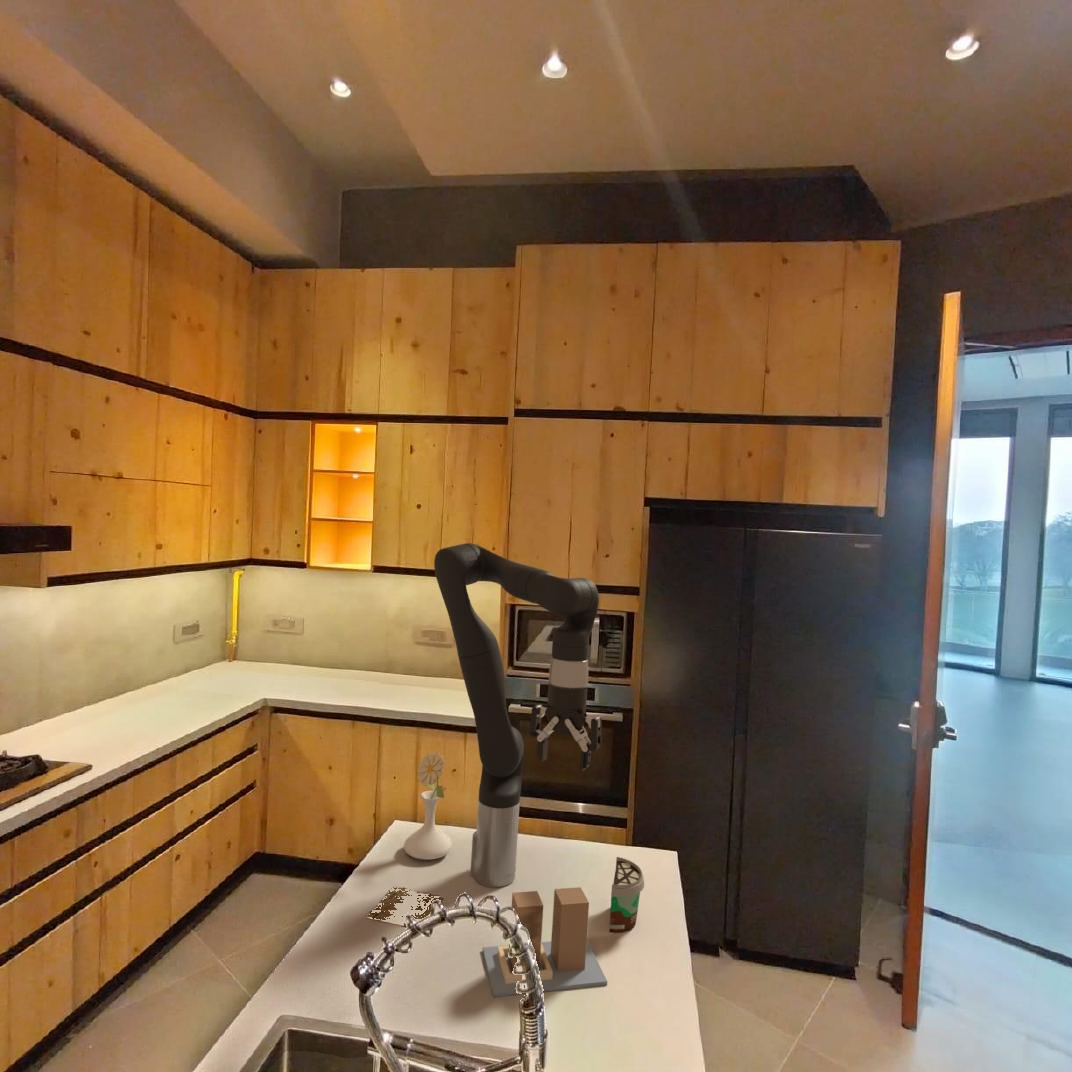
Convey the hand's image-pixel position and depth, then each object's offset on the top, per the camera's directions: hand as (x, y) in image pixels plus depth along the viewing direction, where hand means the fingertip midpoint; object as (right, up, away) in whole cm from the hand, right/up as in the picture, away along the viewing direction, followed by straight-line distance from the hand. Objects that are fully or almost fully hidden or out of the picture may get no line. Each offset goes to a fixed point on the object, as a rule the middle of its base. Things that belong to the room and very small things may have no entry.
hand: (563, 764), depth 127 cm
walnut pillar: (-7, -32, -10) cm, 35 cm away
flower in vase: (-31, -31, +28) cm, 52 cm away
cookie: (-32, -32, +6) cm, 45 cm away
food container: (+13, -34, +6) cm, 37 cm away
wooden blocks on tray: (-3, -33, -9) cm, 34 cm away
